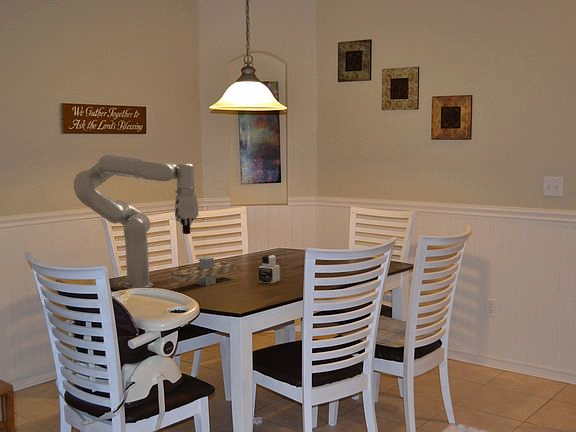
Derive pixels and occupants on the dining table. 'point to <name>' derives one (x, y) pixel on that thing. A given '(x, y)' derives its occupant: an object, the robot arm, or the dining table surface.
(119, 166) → the robot arm
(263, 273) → the medicine bottle
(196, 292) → the dining table surface
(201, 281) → the fulcrum
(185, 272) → the beam
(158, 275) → the dining table surface
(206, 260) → the block
